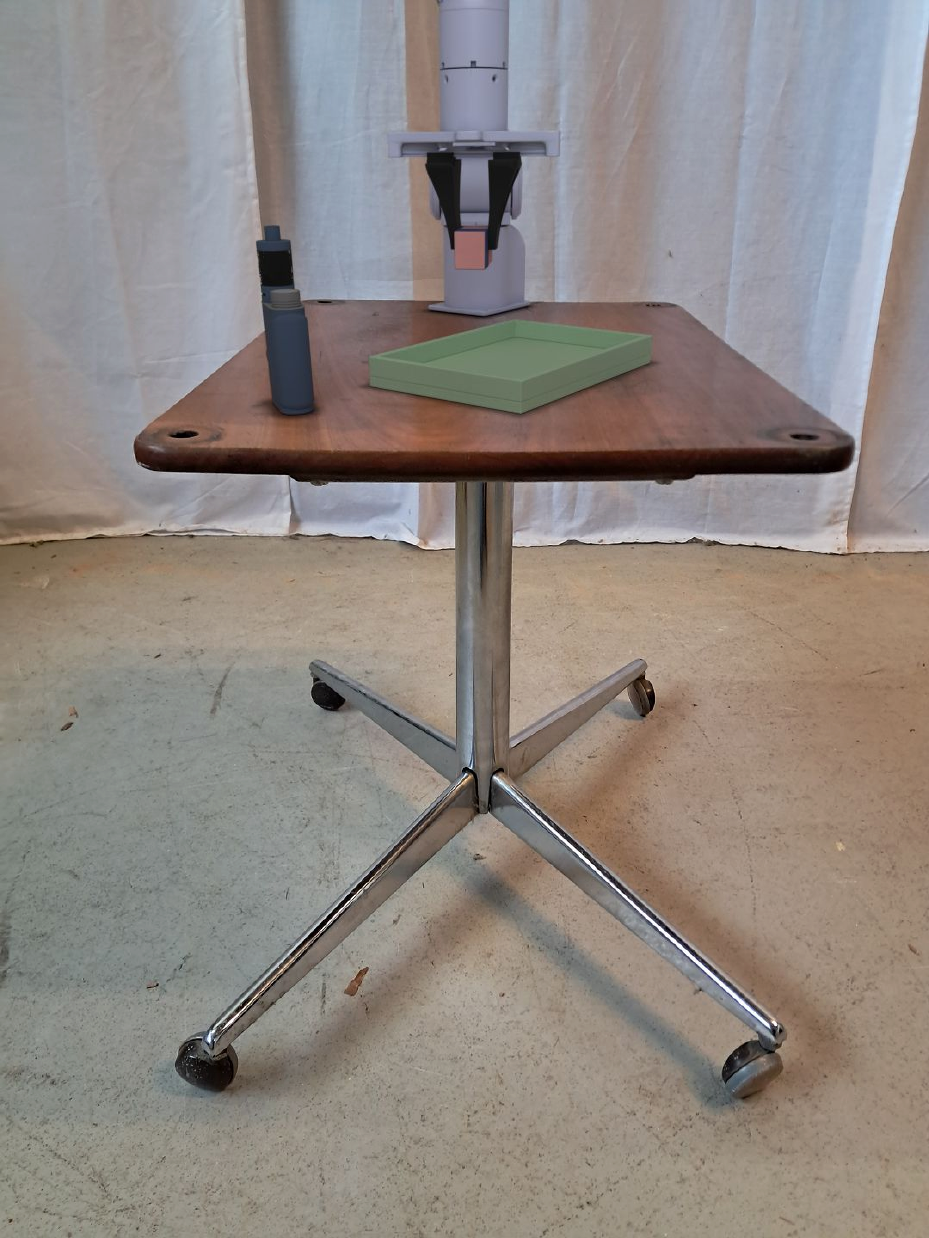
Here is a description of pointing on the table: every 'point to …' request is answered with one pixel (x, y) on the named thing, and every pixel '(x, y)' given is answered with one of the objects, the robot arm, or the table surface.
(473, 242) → the eraser
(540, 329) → the tray
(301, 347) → the vaping device
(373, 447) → the table surface
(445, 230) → the robot arm
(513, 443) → the table surface
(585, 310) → the table surface
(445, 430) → the table surface
